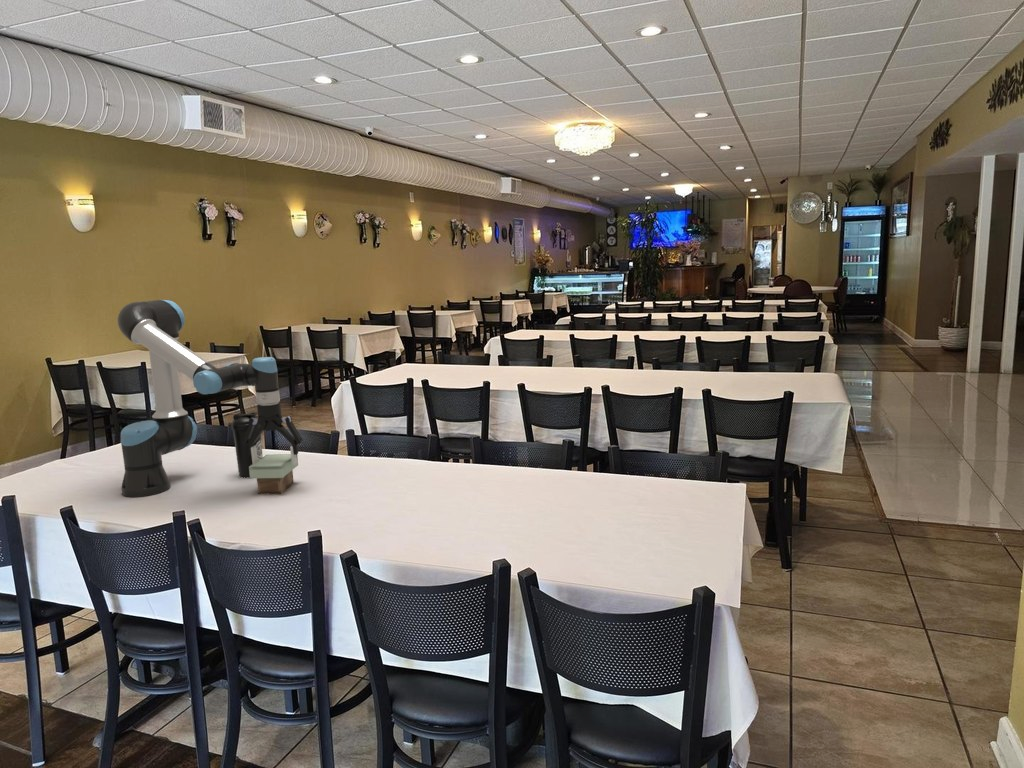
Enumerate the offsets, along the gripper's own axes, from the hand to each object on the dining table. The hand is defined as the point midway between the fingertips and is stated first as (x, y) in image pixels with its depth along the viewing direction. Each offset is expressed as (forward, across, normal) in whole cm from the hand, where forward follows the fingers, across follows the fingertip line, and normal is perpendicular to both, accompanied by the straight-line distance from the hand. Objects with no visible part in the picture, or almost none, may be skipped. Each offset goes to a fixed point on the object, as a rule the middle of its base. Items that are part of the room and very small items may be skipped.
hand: (274, 464), depth 243 cm
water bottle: (+8, -16, +17) cm, 25 cm away
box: (+8, 0, 0) cm, 9 cm away
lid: (+2, 0, 0) cm, 3 cm away
